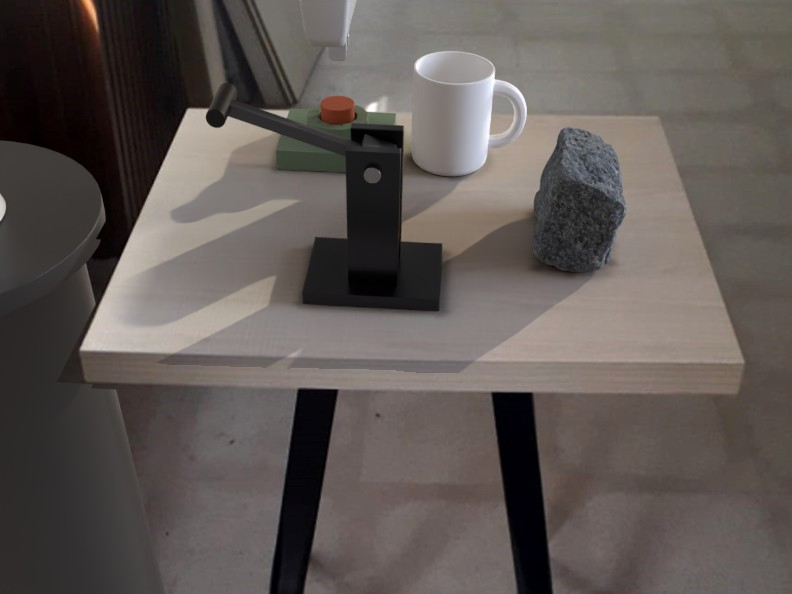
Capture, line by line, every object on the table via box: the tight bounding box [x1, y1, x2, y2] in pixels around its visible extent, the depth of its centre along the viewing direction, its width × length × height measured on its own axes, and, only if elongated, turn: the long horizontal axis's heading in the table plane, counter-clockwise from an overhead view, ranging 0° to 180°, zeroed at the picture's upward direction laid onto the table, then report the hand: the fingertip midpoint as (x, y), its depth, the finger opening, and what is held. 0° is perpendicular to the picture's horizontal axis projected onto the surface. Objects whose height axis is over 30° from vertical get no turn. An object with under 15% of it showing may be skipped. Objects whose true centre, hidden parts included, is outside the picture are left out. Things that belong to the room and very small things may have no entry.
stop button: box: [319, 95, 355, 125], centre depth 102 cm, size 4×4×2 cm
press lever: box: [205, 82, 397, 156], centre depth 78 cm, size 15×5×2 cm, turn 86°
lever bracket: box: [301, 123, 444, 312], centre depth 82 cm, size 12×9×14 cm
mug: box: [410, 50, 528, 177], centre depth 100 cm, size 12×8×10 cm
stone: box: [532, 126, 628, 273], centre depth 89 cm, size 12×8×10 cm, turn 0°
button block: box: [275, 104, 397, 173], centre depth 104 cm, size 12×10×4 cm
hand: (339, 55), depth 98 cm, fingers closed
